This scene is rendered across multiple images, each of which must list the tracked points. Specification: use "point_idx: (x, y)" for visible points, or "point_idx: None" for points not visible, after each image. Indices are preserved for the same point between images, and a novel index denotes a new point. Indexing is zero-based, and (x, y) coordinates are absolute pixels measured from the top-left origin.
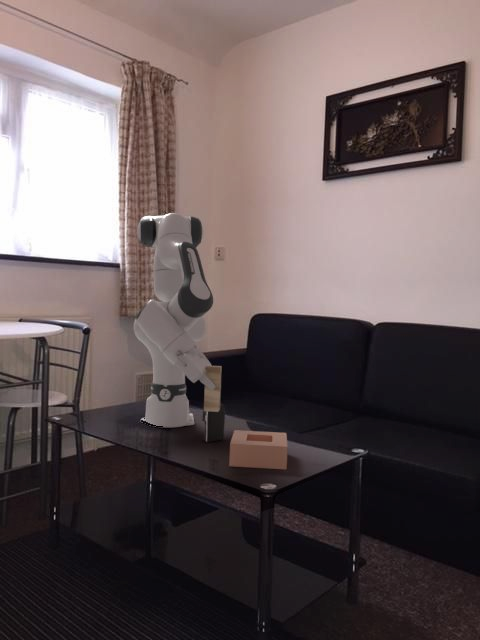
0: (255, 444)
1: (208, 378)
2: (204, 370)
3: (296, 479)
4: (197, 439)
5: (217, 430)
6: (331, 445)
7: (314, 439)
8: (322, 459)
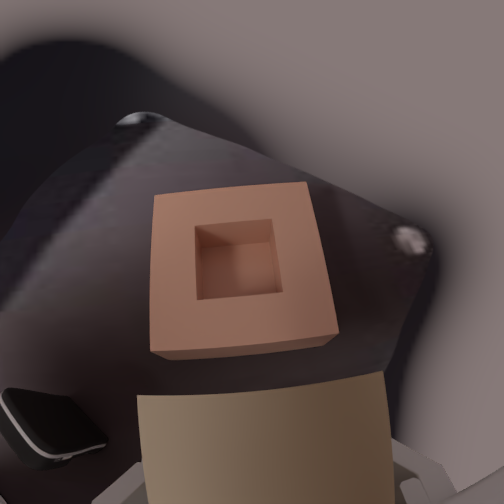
0: (319, 258)
1: (422, 459)
2: (487, 496)
3: (352, 195)
4: (85, 468)
5: (70, 415)
6: (96, 153)
7: (54, 184)
8: (199, 157)
